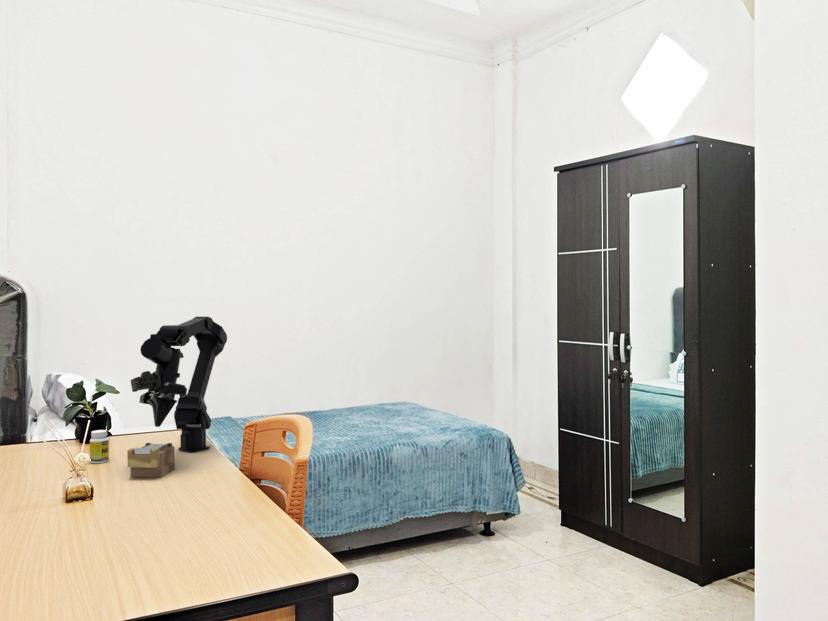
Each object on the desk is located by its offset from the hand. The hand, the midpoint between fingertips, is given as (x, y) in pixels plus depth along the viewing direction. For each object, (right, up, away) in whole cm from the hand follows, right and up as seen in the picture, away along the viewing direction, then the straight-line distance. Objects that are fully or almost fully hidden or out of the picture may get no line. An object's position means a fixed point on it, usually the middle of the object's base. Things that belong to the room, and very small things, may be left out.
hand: (157, 426), depth 181 cm
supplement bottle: (-19, -11, +7) cm, 23 cm away
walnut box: (+1, -11, -6) cm, 13 cm away
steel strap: (+1, -5, -6) cm, 8 cm away
